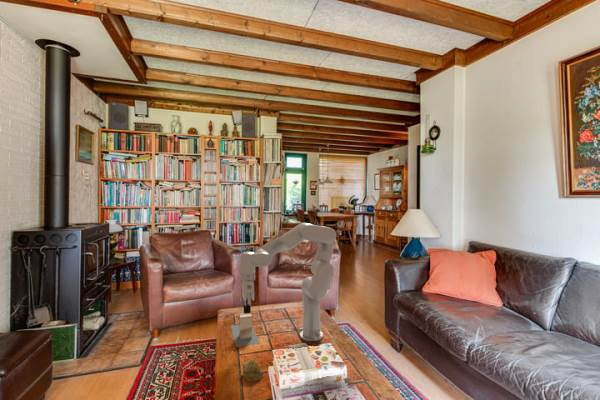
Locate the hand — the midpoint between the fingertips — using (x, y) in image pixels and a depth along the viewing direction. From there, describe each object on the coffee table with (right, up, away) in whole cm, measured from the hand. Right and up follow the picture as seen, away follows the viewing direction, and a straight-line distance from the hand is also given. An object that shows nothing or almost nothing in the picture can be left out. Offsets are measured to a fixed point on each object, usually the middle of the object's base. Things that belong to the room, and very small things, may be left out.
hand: (247, 312), depth 146 cm
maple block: (-2, -16, +9) cm, 19 cm away
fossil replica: (+25, -17, -14) cm, 33 cm away
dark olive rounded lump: (+7, -17, -25) cm, 31 cm away
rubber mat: (-4, -17, +12) cm, 21 cm away
